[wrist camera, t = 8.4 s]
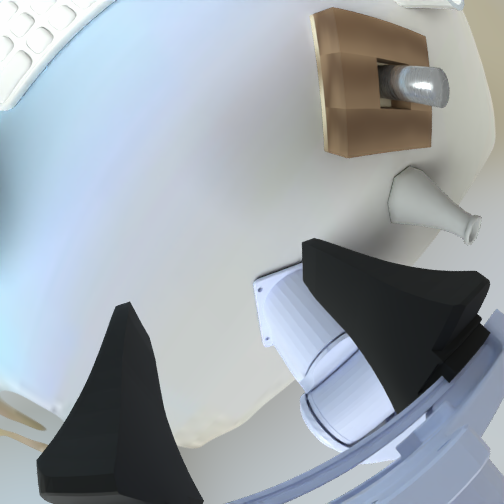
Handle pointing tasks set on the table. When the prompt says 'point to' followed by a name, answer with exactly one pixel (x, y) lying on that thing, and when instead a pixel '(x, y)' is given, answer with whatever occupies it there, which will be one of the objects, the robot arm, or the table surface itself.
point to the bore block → (366, 84)
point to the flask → (429, 206)
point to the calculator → (36, 39)
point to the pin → (414, 84)
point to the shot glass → (432, 4)
